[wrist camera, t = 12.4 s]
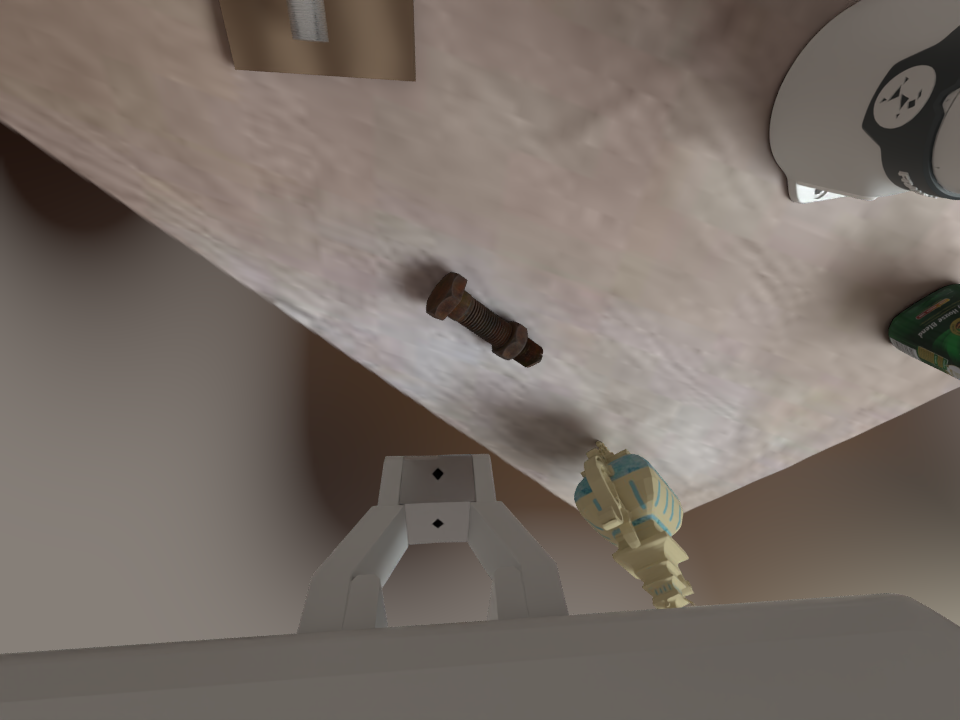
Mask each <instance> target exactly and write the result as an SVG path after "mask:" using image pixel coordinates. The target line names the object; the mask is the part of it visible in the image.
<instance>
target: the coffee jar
mask: <svg viewBox="0 0 960 720" xmlns="http://www.w3.org/2000/svg"><path fill="white" fill-rule="evenodd" d="M888 335H889V339H890V341H891V343H892V344H893V345H894V346H895V347H896V348H897V349H899V350H901V351H902V352H904V353H906V354H908V355H910V356H912V357H914V358H916V359H918V360H920V361H922V362H924V363H926V364H928V365H930V366H932V367H934V368H936V369H939V370H941V371H943V372H945V373H947V374H949V375H951V376H953V377H955V378H957V379H959V380H960V284H954V285H949V286H946V287H943V288H941V289H939V290H938V291H936V292H934V293H932V294H930V295H929V296H927V297H925V298H923V299H922V300H920V301H918V302H917V303H915V304H913V305H912V306H910V307H909V308H907V309H906V310H904V311H903V312H902V313H900V314H899V315H898V316H897V317H895V318H894V319H893V321H892V323H891V325H890V327H889V332H888Z"/></svg>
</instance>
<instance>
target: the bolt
mask: <svg viewBox="0 0 960 720" xmlns="http://www.w3.org/2000/svg"><path fill="white" fill-rule="evenodd" d="M466 284H467V279H465V278H464V277H462V276H461V275H460V274H457V273H453V272H451V273H449V274H447V275H446V276H445V277H443V278H442V280H441V281H440V282H439V283H438V284H437V285H436V287H435V288H434V290H433V291H432V293H431V295H430V297H429V298H428V300H427V305H426V313H428V314H429V315H431V316H432V317H434V318H436V319H440V320H444V319H445V318H446V317H447V316H448V317H449V318H451V319H453V320H454V321H457V322H459V323H460V324H462V325H463V326H465V327H467V329H469V330H471V331H472V332H474V333H475V334H476V335H478V336H480V337H481V338H482V339H484V340H485V341H487V342H489V343H490V344H491V345H492V352H493V353H495V354H496V355H498V356H499V357H501V358H503V359H505V360H511V359H514V360H515V361H517V362H518V363H520V364H521V365H523V366H524V367H527V368H528V367H531V366H533V365H535V364H537V363H539V362H540V361H541V359H542V354H543V349H542V347H540V346H539V345H538V344H536V343H535V342H533V341H532V340H530V339H529V338H528V333H527V328H525V327H524V326H523V325H521V324H519V323H517V322H514V321H510V322H508V323H507V322H506V321H504V320H503V319H502V318H500V317H499V316H498V315H496V314H494V313H493V312H492V311H491V310H489V309H488V308H487V307H485V306H484V305H482V304H481V303H480V302H478V301H476V299H474V298H473V297H472V296H471V295H470V294H469V293H467V292H466V291H465V287H466Z"/></svg>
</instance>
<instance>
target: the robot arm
mask: <svg viewBox="0 0 960 720" xmlns="http://www.w3.org/2000/svg"><path fill="white" fill-rule="evenodd" d="M770 145H771V150H772V153H773V156H774V158H775V160H776V162H777V164H778V165H779V166H780V168H781V169H782V170H783V172H784V173H785V175H786V176H787V179H788V190H789V196H790V198H791V200H792V201H793V202H796V203H802V204H806V203H812V202H818V201H824V200H830V199H836V198H842V197H852V198H857V199H861V200H867V201H873V200H875V199H876V198H877V197H884V196H890V195H895V194H899V193H903V192H907V191H914V192H915V193H918V194H920V195H924V196H928V197H933V198H937V197H940V198H947V199H953V200H960V0H861V1H859V2H857V3H856V4H854V5H853V6H851V7H849V8H848V9H846V10H845V11H843V12H842V13H840V14H839V15H838V16H836V17H835V18H834V19H832V20H831V21H830V22H829V23H828V24H827V25H825V26H824V27H823V28H822V29H821V30H820V31H819V32H818V33H817V34H816V35H815V36H814V37H813V38H812V40H811V41H810V42H809V43H808V44H807V45H806V47H805V48H804V49H803V50H802V52H801V53H800V55H799V56H798V57H797V59H796V60H795V62H794V63H793V65H792V66H791V68H790V70H789V71H788V73H787V75H786V77H785V79H784V81H783V83H782V85H781V87H780V90H779V92H778V95H777V97H776V100H775V104H774V107H773V111H772V115H771V121H770ZM815 189H817V190H816V191H815ZM814 191H815V192H814ZM436 542H468V544H469V546H470V547H471V549H472V550H473V552H474V553H475V555H476V557H477V558H478V560H479V561H480V562H481V564H482V566H483V567H484V569H485V570H486V572H487V573H488V575H489V577H490V578H491V580H492V581H493V582H492V588H491V595H490V601H489V608H488V614H487V621H474V622H459V623H444V624H430V625H415V626H402V627H387V626H388V623H387V618H386V612H385V606H384V600H383V594H382V587H383V586H384V584H385V583H386V581H387V579H388V578H389V576H390V575H391V573H392V571H393V569H394V568H395V567H396V565H397V563H398V562H399V560H400V559H401V557H402V555H403V554H404V552H405V551H406V549H407V547H408V545H410V544H423V543H436ZM0 720H960V627H959V626H958V625H957V624H955V623H953V622H952V621H950V620H949V619H947V618H945V617H943V616H942V615H941V614H939V613H937V612H935V611H934V610H932V609H931V608H929V607H927V606H925V605H923V604H922V603H920V602H918V601H916V600H914V599H913V598H911V597H908V596H905V595H900V594H889V593H884V594H871V595H855V596H842V597H826V598H811V599H797V600H784V601H783V600H782V601H767V602H754V603H738V604H724V605H711V606H710V605H709V606H695V607H680V608H666V609H652V610H637V611H622V612H608V613H593V614H578V615H569V614H568V610H567V605H566V601H565V597H564V593H563V589H562V585H561V581H560V576H559V573H558V568H557V564H556V562H555V561H554V560H553V559H552V558H551V557H550V555H549V554H548V553H547V552H546V551H545V550H544V549H543V548H542V546H541V545H540V544H539V543H538V542H537V541H536V540H535V539H534V537H533V536H532V535H531V534H530V533H529V532H528V531H527V530H526V528H525V527H524V526H523V525H522V524H521V523H520V522H519V521H518V519H516V517H515V516H514V515H513V514H512V513H511V512H510V511H509V510H508V508H507V507H506V506H505V505H504V504H503V503H502V502H501V501H496V496H495V489H494V481H493V474H492V467H491V460H490V456H489V454H472V455H471V454H464V455H463V454H462V455H438V456H386V458H385V460H384V466H383V472H382V479H381V486H380V493H379V500H378V506H372V507H371V508H370V510H369V511H368V512H367V513H366V514H365V515H364V516H363V518H362V519H361V520H360V521H359V522H358V523H357V524H356V526H355V527H354V528H353V529H352V530H351V532H349V534H348V535H347V536H346V537H345V539H343V541H342V542H341V543H340V544H339V545H338V546H337V547H336V549H335V550H334V551H333V552H332V553H331V554H330V555H329V557H328V558H327V559H326V560H325V561H324V562H323V564H322V565H321V566H320V567H319V568H318V569H317V570H316V572H315V573H314V574H313V575H312V578H311V581H310V585H309V589H308V593H307V596H306V600H305V604H304V608H303V612H302V616H301V619H300V623H299V627H298V631H297V634H284V635H269V636H254V637H240V638H225V639H210V640H196V641H181V642H167V643H152V644H137V645H123V646H110V647H109V646H108V647H93V648H79V649H65V650H49V651H35V652H21V653H5V654H0Z"/></svg>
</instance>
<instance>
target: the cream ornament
mask: <svg viewBox="0 0 960 720" xmlns="http://www.w3.org/2000/svg"><path fill="white" fill-rule="evenodd" d="M596 445H597V447H599V449H598V450H597V448H595V449H593V450H590V451H589V452H588V453H586V455H587V457H588V458H589V460H587V461H585V463H584V469H585V471H583V472H581V475H582V476H583V477H584V479H583V480H582V481H581V482H580V483H579V484H578V486H577V488H576V491H575V495H574V500H575V503H576V506H577V508H578V510H579V511H580V513H581V515H582V516H583V517H584V518H585V520H586V521H587V522H588V523H589V524H590V525H591V526H592V527H593V528H594V529H595V531H597V532H598V533H599V534H600V535H601V536H602V537H603V538H604V539H606V540H607V541H609V542H611V543H612V544H614V545H615V546H617V547H618V548H619V549H618V550H617V551H616V553H614V554H612V556H613V559H614V560H615V561H616V562H617V563H618V564H620V565H621V566H622V567H623V568H624V569H625V570H627V571H628V572H629V573H630V574H632V575H633V576H634V577H635V578H637V579H641V580H642V581H643V582H644V585H643V586H642V588H643V589H644V590H645V591H647V592H648V593H649V594H650V595H652V596H653V605H654V606H655V607H656V608H657V609H666V608H680V607H682V606H684V605H686V604H688V603H689V602H690V603H691V604H692V605H693V606H696V605H695V604H694V603H693V602H691V601H689V600H688V599H686V598H685V596H687V595H690V594H693V593H694V592H693V591H692V587H691V585H690V583H689V581H685V579H684V578H683V576H682V573H681V571H680V570H679V568H678V563H680V562H682V561H685V560H687V559H688V556H687V554H686V552H685V551H684V550H683V549H682V548H681V547H680V546H679V545H678V544H677V543H676V542H675V540H674V539H673V538H672V537H671V536H672V535H673V534H675V533H676V532H677V531H678V530H679V529H680V527H681V524H682V517H683V511H682V507H681V503H680V501H679V499H678V497H677V496H676V495H675V494H674V492H673V491H672V490H671V489H670V487H669V486H668V485H667V483H666V482H665V481H664V480H663V479H662V477H661V476H660V475H659V474H658V473H657V471H656V470H655V469H654V468H653V467H652V465H651V464H650V463H649V462H648V461H647V460H645V459H644V458H642V457H640V456H638V455H636V454H630V453H629V451H627V450H626V449H625V450H623V451H621V452H619V453H617V454H615V455H614V454H613V453H612V452H611V453H610V451H609V450H608V449H607V447H605V446H604V444H603V443H601V442H599V441H598V442H596Z"/></svg>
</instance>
